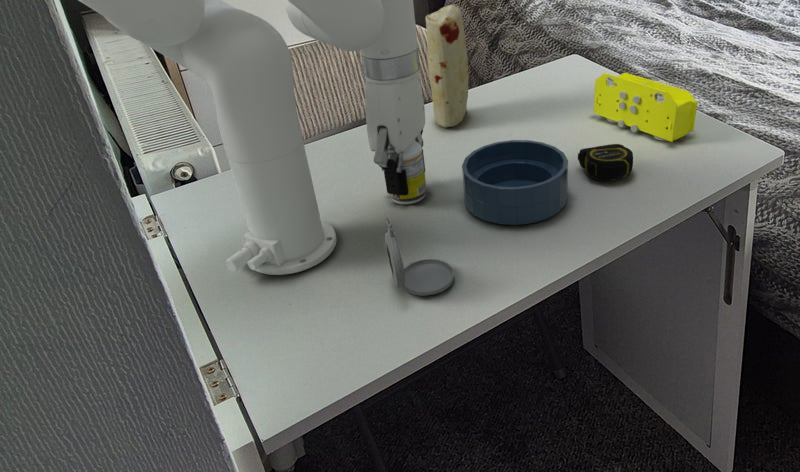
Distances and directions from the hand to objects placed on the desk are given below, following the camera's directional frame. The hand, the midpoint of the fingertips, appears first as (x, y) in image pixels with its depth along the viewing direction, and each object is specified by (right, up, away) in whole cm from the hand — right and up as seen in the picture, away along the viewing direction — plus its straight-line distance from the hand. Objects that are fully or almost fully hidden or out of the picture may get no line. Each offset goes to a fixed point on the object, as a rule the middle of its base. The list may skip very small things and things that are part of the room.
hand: (406, 181), depth 96 cm
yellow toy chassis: (+39, +10, +11) cm, 41 cm away
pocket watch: (+1, -14, -16) cm, 21 cm away
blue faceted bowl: (+15, -3, -3) cm, 16 cm away
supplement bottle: (0, -2, +2) cm, 3 cm away
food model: (+8, +13, +22) cm, 27 cm away
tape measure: (+29, +1, 0) cm, 29 cm away
